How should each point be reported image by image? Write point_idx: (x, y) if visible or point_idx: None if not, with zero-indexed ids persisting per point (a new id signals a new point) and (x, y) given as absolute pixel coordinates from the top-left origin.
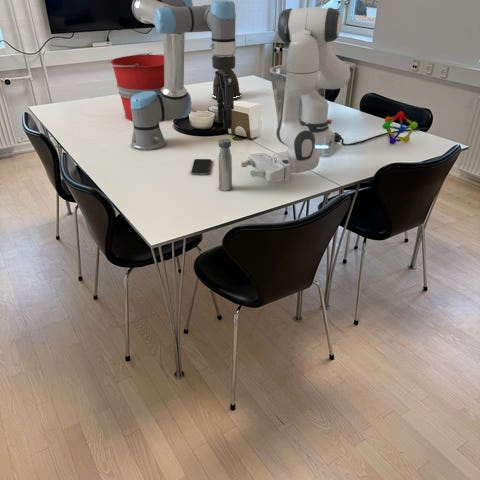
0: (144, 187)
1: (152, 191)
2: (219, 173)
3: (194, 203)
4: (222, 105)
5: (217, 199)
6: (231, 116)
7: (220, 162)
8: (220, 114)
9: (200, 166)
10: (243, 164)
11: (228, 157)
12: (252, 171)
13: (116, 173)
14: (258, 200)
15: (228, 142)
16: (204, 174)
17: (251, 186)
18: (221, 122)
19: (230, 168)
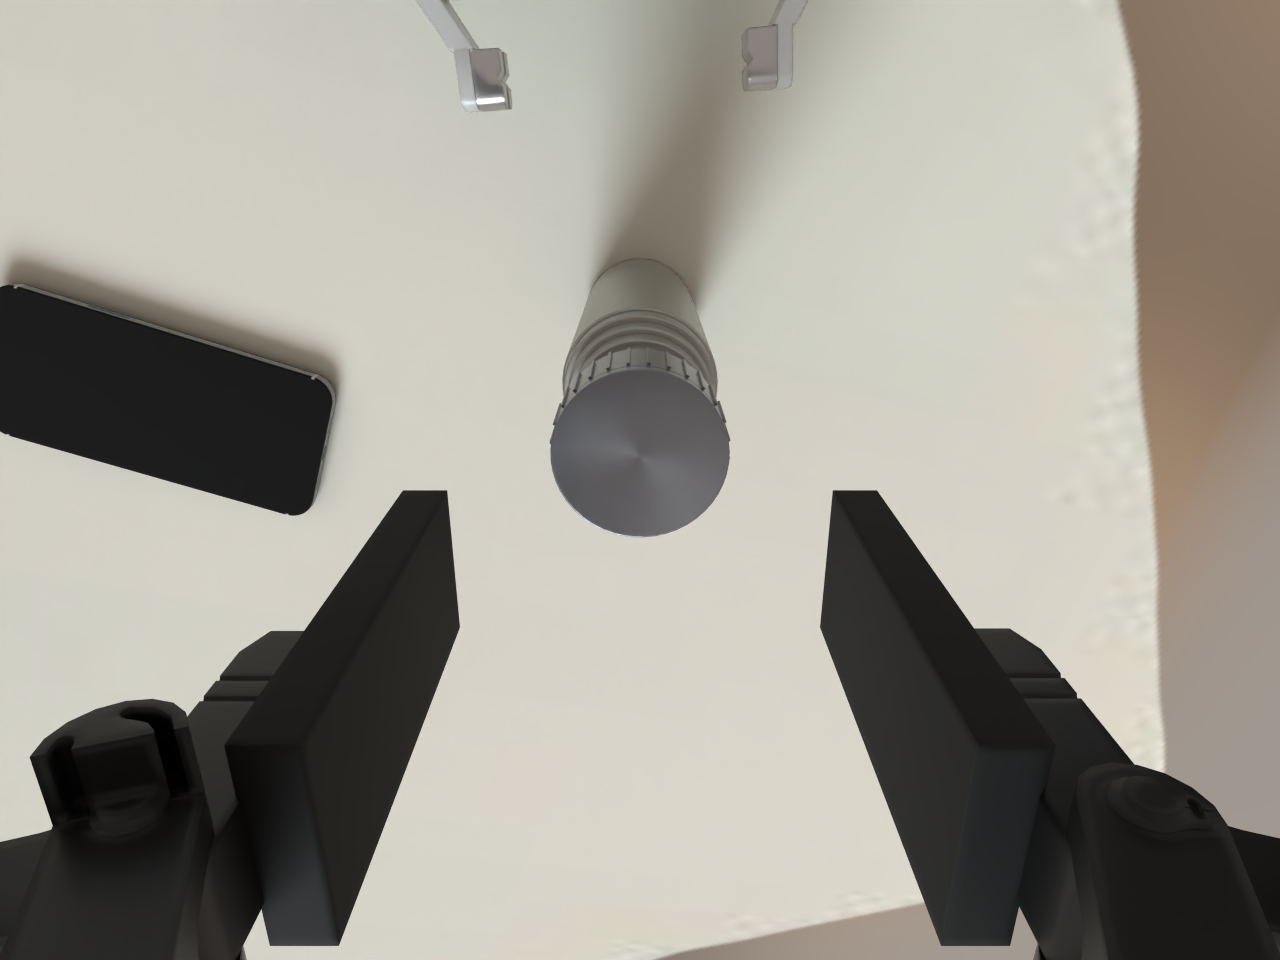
0: (472, 819)
1: (546, 786)
2: None
3: (810, 586)
4: (336, 805)
5: (810, 426)
6: (966, 622)
7: None
8: (411, 689)
9: (173, 419)
10: (506, 94)
11: (713, 371)
12: (768, 69)
13: None
14: (959, 103)
15: (723, 423)
16: (332, 415)
17: (669, 66)
18: (451, 576)
19: (694, 316)
